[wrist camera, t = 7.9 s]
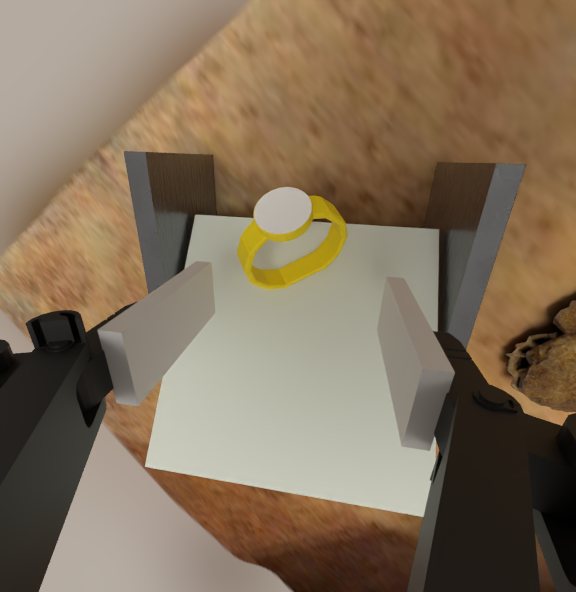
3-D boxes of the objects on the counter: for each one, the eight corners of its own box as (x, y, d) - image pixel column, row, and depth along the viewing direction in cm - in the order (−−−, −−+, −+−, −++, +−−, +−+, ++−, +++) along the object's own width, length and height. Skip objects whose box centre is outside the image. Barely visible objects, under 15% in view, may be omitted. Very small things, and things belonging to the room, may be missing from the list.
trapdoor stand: (455, 163, 21) (526, 164, 13) (400, 395, 30) (422, 482, 22) (198, 154, 24) (123, 151, 16) (216, 371, 32) (174, 441, 24)
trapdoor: (433, 235, 20) (439, 229, 19) (427, 509, 16) (434, 518, 15) (200, 221, 22) (195, 214, 21) (154, 461, 18) (145, 466, 18)
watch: (331, 237, 20) (330, 163, 15) (351, 269, 19) (359, 201, 13) (248, 274, 20) (216, 212, 14) (263, 309, 18) (234, 255, 13)
